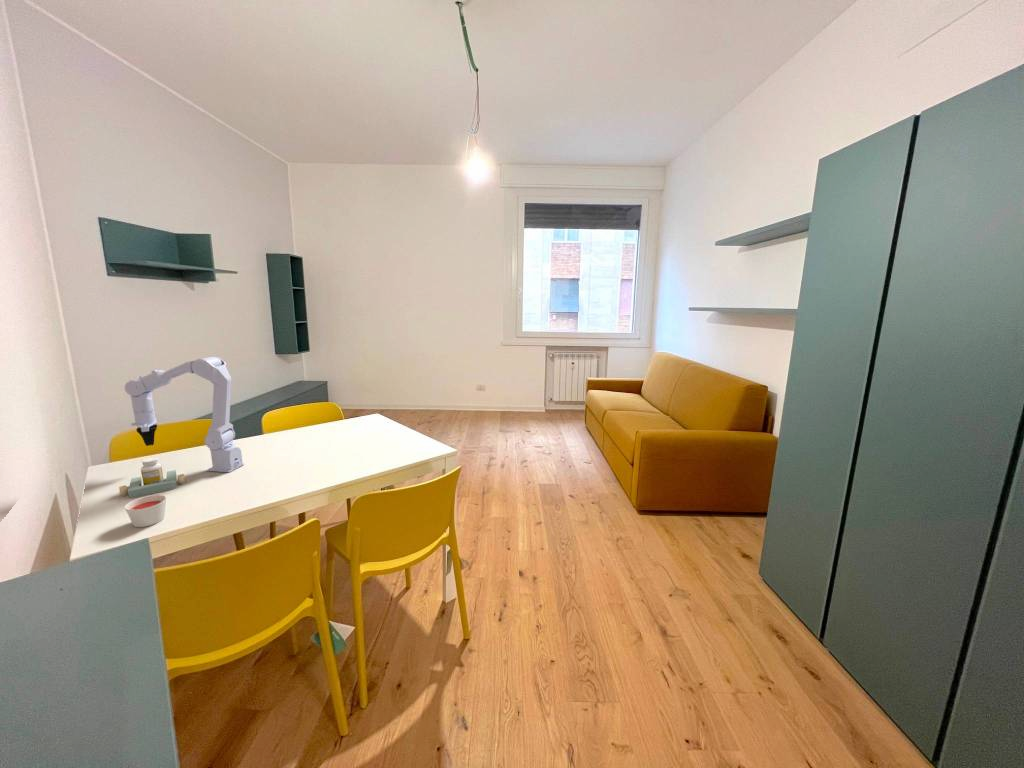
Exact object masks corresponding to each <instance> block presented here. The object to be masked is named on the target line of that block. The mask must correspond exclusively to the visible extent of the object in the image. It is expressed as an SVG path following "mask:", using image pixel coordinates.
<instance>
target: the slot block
mask: <svg viewBox="0 0 1024 768" xmlns="http://www.w3.org/2000/svg"><path fill="white" fill-rule="evenodd" d="M165 477H166V478H165V480H164V481H163V482H158V483H154V484H149V485H143V479H142V476H138V477H132V478H131V480H130V483H129V486H128V487H127V485H121V486H119V487H118V490H119V494H120V497H125V496H128V498H129V499H133V498H137V497H143V496H148V495H151V494H155V493H160V492H165V491H171V490H173V489H177V482H178V485H183V484H185V483H186V479H185V474H184V473H183V474H181V473H180V474H177V470H176V469H175V470H170V471H166V476H165Z"/></svg>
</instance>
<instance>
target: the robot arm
mask: <svg viewBox="0 0 1024 768" xmlns="http://www.w3.org/2000/svg"><path fill="white" fill-rule="evenodd" d="M188 373H189V374H195V375H197V376H198V377H201V378H203V379H206V381H209V382H210V383H212V385H213V393H212V394H213V395H212V414H211V415H212V419H211V425H210V426H209V427H208V430H207V435H206V437H204V444H205V447H207V448H208V449H209V451H210V457H211V458H210V459H211V463H212V465H211V467H209V468H207V469H206V471H208V472H219V473H220V472H222V473H230V472H233V471H235V470H236V469H238V468H240V467H243V466H244V465H245V463H244V461H243V455H242V450H241V448H239V447H237V446H235V444H233V443H234V442H233V440H234V439H235V438H236V432H235V430H234V425H233V424H232V423H231V422H230V418H231V417H230V415H231V399H232V397H231V395H232V381H233V380H232V377H231V375H230V372H229V370H228V368H227V362H225V361H224V360H223V359H222V358H220V357H219V356H217V355H210V356H207V357H203V358H197V359H195V360H190V361H185V362H184V363H181V364H179V365H177V366H175V367H173V368H169V369H168V370H163V369H159V370H158V369H155V370H151V373H149V374H146V375H140V376H139V377H138V378H137V379H131V380H129V381H128V382H127V381H126V383H125V385H124V390H125V392H126V393H127V394H128V395H129V396H130V400H131V405H132V411H133V417H134V422H132V423H130V425H131V427H137V428H136V432H137V433H138V434H139V435H140V437H141V438H142V441H143V443H144V444H145V446H146V447H148V446H149V447H150V446H154V444H155V433H156V431H157V428H158V424H157V423H158V420H157V418H156V412H155V406H154V401H153V400H154V399H153V396H154V395H153V392H154V390H157V389H161V387H164V386H166V385H169V384H171V382H172V379H174V378H178V377H180V376H182V375H186V374H188Z"/></svg>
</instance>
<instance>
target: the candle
mask: <svg viewBox="0 0 1024 768" xmlns="http://www.w3.org/2000/svg"><path fill="white" fill-rule="evenodd" d="M166 499H167V497H166V495H163V494H152V495H151V494H150V495H145V496H141V497H140V498H136V499H134V500H131V501H129V502H128V503H126V504H125V506H124V509H125V511H126V514H127V515H128V518H129V519H130V521H131V524H132V525H133V526H134V527H135V528H146V527H149V526H153V525H156V524H158V523H160V522H161V521H163V520H164V519H165V516H166V515H165V514H166V504H167V503H166V502H167V500H166Z"/></svg>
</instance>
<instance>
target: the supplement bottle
mask: <svg viewBox="0 0 1024 768" xmlns="http://www.w3.org/2000/svg"><path fill="white" fill-rule="evenodd" d="M141 463H142V465H143V466H141V468H140V472H141V479H142V486H144V485H149V484H154V483H158V482H163V481H165V480H164V474H163V468H162V465H161V463H159V459H158V458H157V457H150V458H146V459H143V460H142V462H141Z"/></svg>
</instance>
